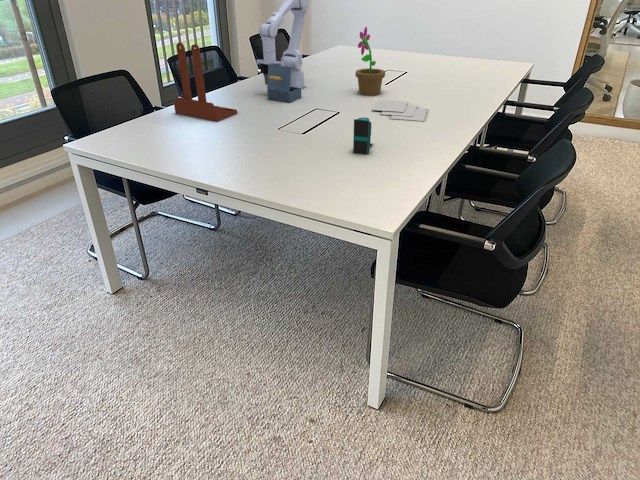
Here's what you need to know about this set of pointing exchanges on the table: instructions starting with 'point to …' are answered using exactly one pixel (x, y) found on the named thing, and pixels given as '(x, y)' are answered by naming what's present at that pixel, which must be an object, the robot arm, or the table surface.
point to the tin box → (285, 95)
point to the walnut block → (266, 78)
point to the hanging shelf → (199, 106)
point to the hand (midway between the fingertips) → (271, 80)
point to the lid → (279, 78)
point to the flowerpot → (368, 71)
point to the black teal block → (362, 136)
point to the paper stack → (400, 110)
